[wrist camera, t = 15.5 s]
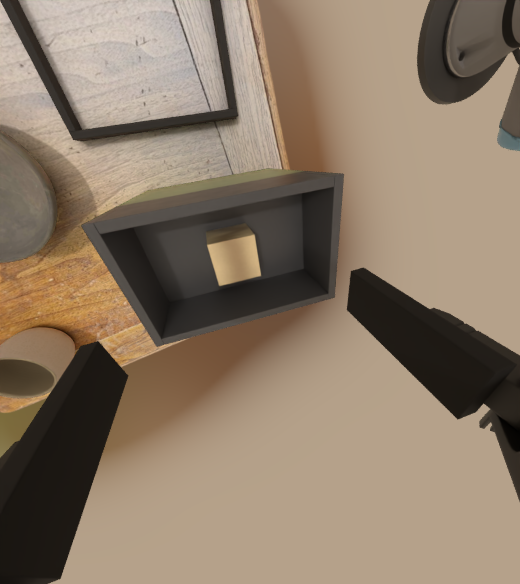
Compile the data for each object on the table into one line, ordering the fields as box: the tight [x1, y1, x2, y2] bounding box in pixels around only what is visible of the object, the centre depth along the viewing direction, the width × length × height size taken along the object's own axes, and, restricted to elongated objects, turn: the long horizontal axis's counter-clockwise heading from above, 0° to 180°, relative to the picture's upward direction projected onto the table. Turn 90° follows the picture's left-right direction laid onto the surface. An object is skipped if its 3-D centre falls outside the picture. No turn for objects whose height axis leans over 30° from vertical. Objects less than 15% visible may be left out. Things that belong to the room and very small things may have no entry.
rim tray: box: [0, 0, 238, 141], centre depth 28 cm, size 26×22×2 cm
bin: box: [81, 171, 344, 347], centre depth 26 cm, size 24×15×9 cm, turn 98°
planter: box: [0, 327, 75, 398], centre depth 45 cm, size 12×12×11 cm
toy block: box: [206, 223, 261, 286], centre depth 27 cm, size 6×6×6 cm
